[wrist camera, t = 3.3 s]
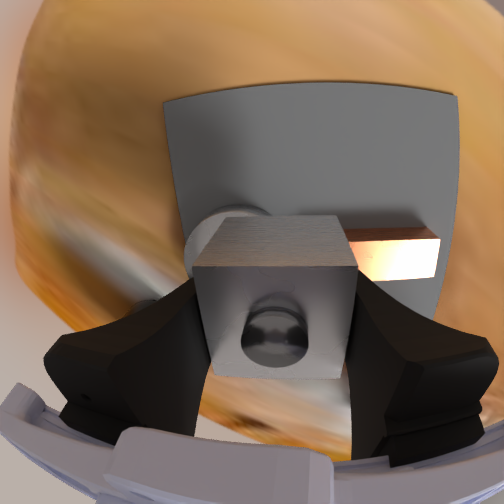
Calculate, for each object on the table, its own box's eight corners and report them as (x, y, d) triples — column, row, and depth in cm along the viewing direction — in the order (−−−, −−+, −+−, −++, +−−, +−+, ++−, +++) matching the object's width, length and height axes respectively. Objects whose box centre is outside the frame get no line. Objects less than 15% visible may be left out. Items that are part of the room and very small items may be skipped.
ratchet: (417, 285, 19) (437, 318, 15) (202, 294, 22) (186, 328, 18) (429, 198, 16) (459, 218, 12) (185, 208, 19) (160, 229, 15)
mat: (426, 332, 21) (427, 334, 21) (210, 342, 24) (209, 344, 24) (454, 96, 13) (457, 96, 13) (164, 102, 16) (162, 102, 16)
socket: (330, 307, 13) (341, 390, 9) (236, 306, 14) (211, 387, 9) (336, 215, 11) (363, 276, 7) (226, 217, 12) (184, 276, 7)
